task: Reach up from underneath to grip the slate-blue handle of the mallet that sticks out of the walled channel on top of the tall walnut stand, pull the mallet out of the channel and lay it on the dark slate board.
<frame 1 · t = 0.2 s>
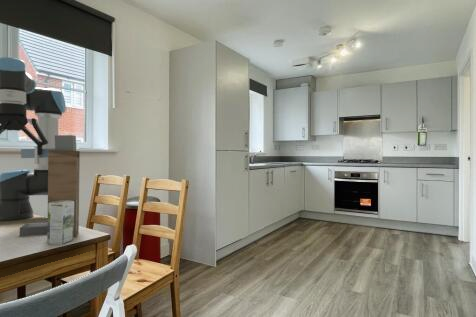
hand: (14, 164, 101), 27 cm above the table, tool pointing down, fingers open, 13 cm apart
syrup box: (60, 242, 101), on the table
mallet: (40, 157, 107), point 30 cm above the table, touching gripper, stand
stand: (63, 236, 109), on the table
board: (43, 232, 115), on the table
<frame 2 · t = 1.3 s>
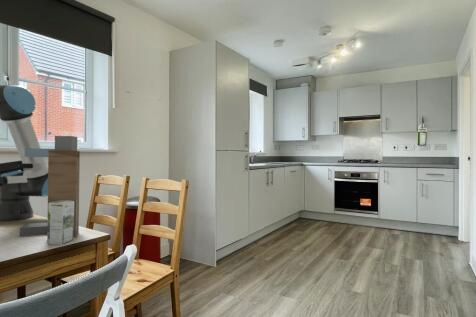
hand: (33, 173, 114), 24 cm above the table, tool horizontal, fingers open, 13 cm apart
mallet: (42, 157, 109), point 30 cm above the table, touching stand
everything else where it was.
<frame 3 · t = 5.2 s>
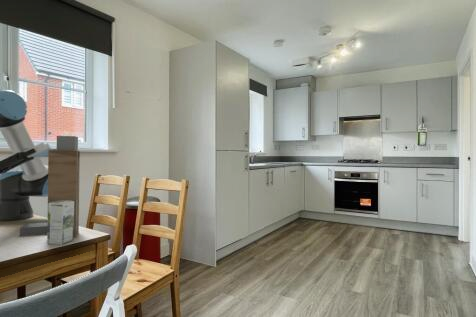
hand: (47, 146, 107), 34 cm above the table, tool pointing upward, fingers open, 6 cm apart
mallet: (41, 157, 107), point 30 cm above the table, touching stand
everything else where it was.
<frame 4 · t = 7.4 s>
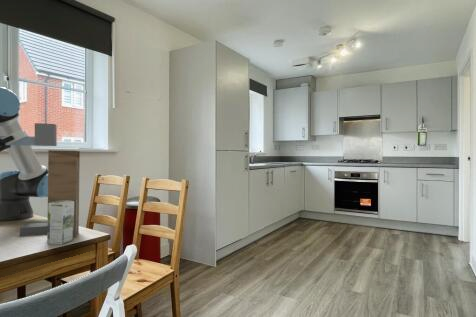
hand: (25, 133, 104), 39 cm above the table, tool pointing upward, fingers closed on mallet, 3 cm apart
mallet: (18, 145, 103), point 34 cm above the table, touching gripper
everything else where it was.
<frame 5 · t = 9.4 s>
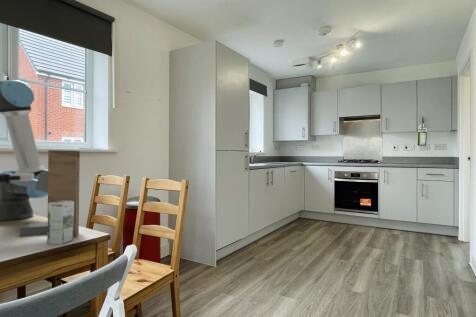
hand: (32, 177, 112), 22 cm above the table, tool horizontal, fingers closed on mallet, 3 cm apart
mallet: (19, 184, 110), point 19 cm above the table, tilted 18°, touching gripper
everything else where it was.
when the fingers open (8 cm above the table, at t = 11.8 s): mallet drops 2 cm, resting on board.
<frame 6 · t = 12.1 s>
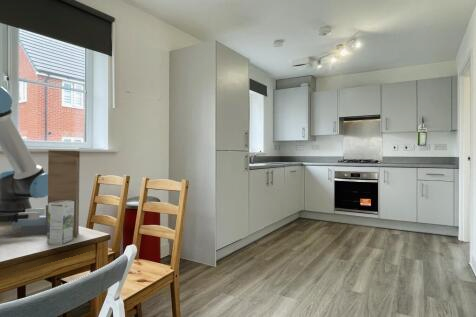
hand: (41, 213, 114), 8 cm above the table, tool horizontal, fingers open, 8 cm apart
mallet: (30, 225, 113), point 3 cm above the table, touching board
everything else where it was.
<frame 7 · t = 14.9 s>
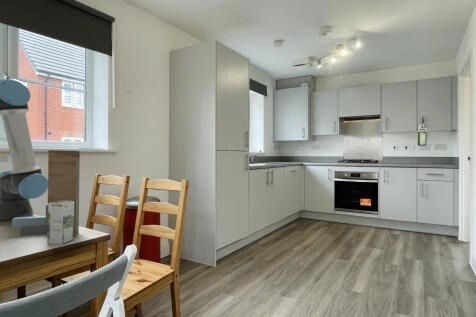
hand: (1, 158, 109), 29 cm above the table, tool horizontal, fingers open, 13 cm apart
nothing on the table moved.
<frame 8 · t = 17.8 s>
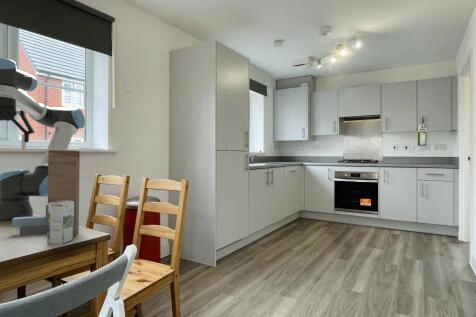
hand: (3, 149, 117), 33 cm above the table, tool pointing down, fingers open, 13 cm apart
nothing on the table moved.
at the end: mallet inside the target area (1.7 cm from its centre), point 3.0 cm above the table; mallet touching board; the gripper is holding nothing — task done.
